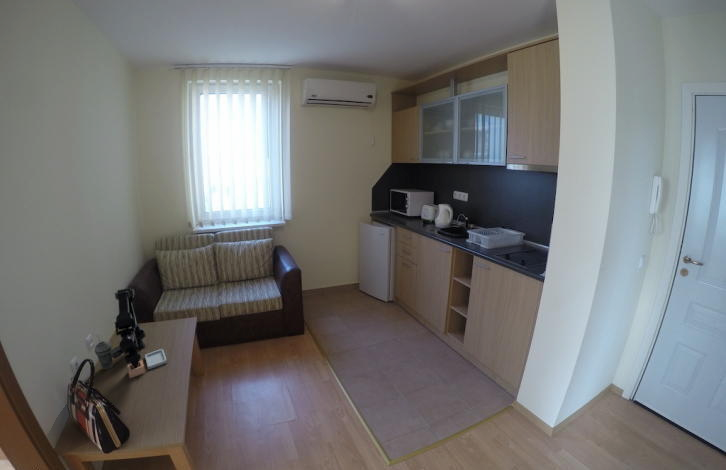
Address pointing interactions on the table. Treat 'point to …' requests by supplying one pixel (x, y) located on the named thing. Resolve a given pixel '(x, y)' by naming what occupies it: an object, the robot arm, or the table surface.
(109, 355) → the beverage cup
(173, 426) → the table surface
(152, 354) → the tray
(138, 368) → the holder
